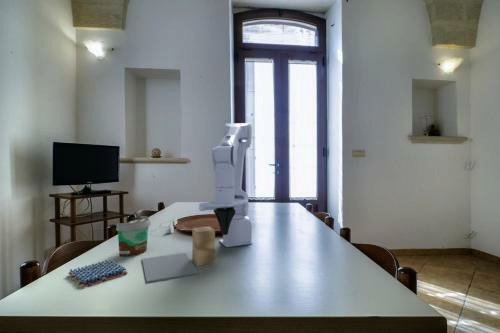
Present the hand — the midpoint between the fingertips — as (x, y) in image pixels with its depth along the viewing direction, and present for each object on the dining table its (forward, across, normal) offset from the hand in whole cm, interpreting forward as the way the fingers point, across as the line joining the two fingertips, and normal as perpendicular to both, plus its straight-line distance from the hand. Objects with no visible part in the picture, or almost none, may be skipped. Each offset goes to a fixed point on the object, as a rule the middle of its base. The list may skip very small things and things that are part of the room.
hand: (224, 233), depth 77 cm
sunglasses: (+8, -11, +41) cm, 43 cm away
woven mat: (+8, -32, +2) cm, 33 cm away
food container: (+7, -22, +16) cm, 28 cm away
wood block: (+7, -6, 0) cm, 9 cm away
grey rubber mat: (+7, -16, 0) cm, 17 cm away
